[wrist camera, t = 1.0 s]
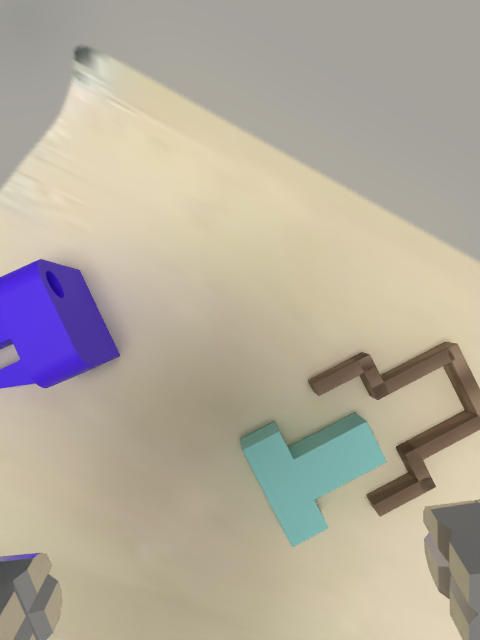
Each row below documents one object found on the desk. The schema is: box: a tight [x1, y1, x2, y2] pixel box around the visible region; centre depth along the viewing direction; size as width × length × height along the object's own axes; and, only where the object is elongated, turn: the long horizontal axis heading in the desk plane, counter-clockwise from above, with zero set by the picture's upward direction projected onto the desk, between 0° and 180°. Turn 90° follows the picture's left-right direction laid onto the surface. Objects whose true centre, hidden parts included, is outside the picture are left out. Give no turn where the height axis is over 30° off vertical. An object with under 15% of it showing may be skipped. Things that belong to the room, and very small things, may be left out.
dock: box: [308, 342, 480, 516], centre depth 47 cm, size 17×17×2 cm
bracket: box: [0, 259, 120, 388], centre depth 40 cm, size 18×11×12 cm, turn 115°
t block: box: [241, 413, 387, 547], centre depth 46 cm, size 12×14×4 cm
